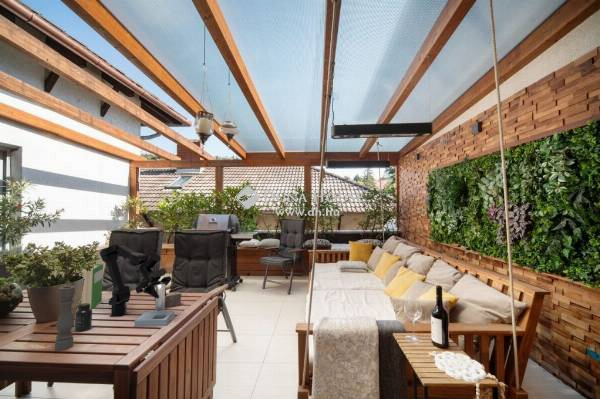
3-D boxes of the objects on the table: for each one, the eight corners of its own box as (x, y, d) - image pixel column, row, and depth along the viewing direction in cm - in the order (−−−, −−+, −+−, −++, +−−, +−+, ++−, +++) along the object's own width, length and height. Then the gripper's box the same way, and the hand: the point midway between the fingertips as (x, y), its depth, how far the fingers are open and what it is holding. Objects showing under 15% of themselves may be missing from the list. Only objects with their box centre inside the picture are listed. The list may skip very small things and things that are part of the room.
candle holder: (61, 344, 128) (64, 285, 130) (76, 344, 129) (79, 285, 130) (50, 351, 122) (53, 289, 124) (66, 350, 123) (69, 289, 124)
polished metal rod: (156, 311, 152) (157, 285, 153) (154, 309, 156) (155, 284, 157) (165, 309, 155) (166, 284, 156) (163, 307, 158) (164, 282, 159)
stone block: (157, 311, 175) (158, 297, 175) (154, 307, 182) (154, 294, 182) (182, 306, 183) (182, 294, 184) (178, 303, 190) (178, 291, 191)
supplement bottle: (94, 327, 148) (95, 303, 148) (80, 332, 141) (82, 307, 142) (85, 326, 150) (86, 301, 151) (70, 330, 144) (72, 305, 144)
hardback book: (92, 309, 177) (94, 268, 178) (78, 310, 174) (80, 269, 176) (101, 301, 193) (103, 264, 195) (88, 302, 191) (89, 264, 192)
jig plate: (134, 326, 149) (134, 320, 149) (145, 316, 164) (146, 311, 164) (165, 325, 151) (166, 319, 151) (174, 315, 166) (174, 310, 166)
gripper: (140, 266, 150) (155, 291, 145) (170, 261, 167) (184, 283, 162) (128, 280, 153) (143, 305, 147) (159, 274, 170) (173, 296, 165)
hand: (162, 296), depth 155 cm, fingers closed on polished metal rod, 4 cm apart
